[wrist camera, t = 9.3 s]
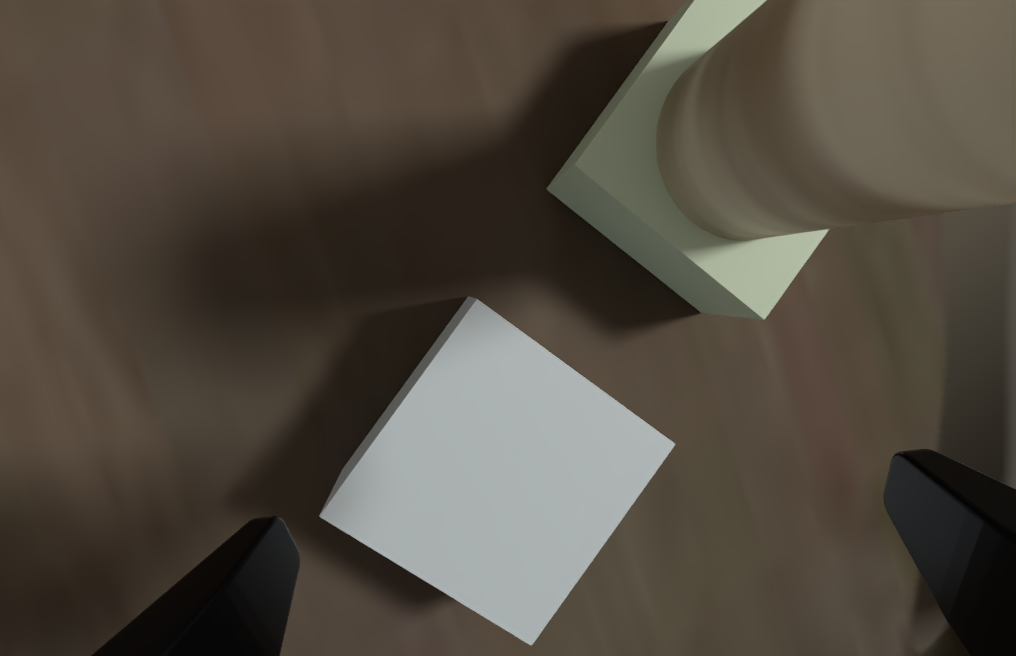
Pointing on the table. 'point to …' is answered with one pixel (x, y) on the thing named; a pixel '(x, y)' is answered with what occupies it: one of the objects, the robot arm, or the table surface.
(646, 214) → the sage block
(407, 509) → the blue-grey block
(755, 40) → the birch cylinder
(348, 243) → the table surface
